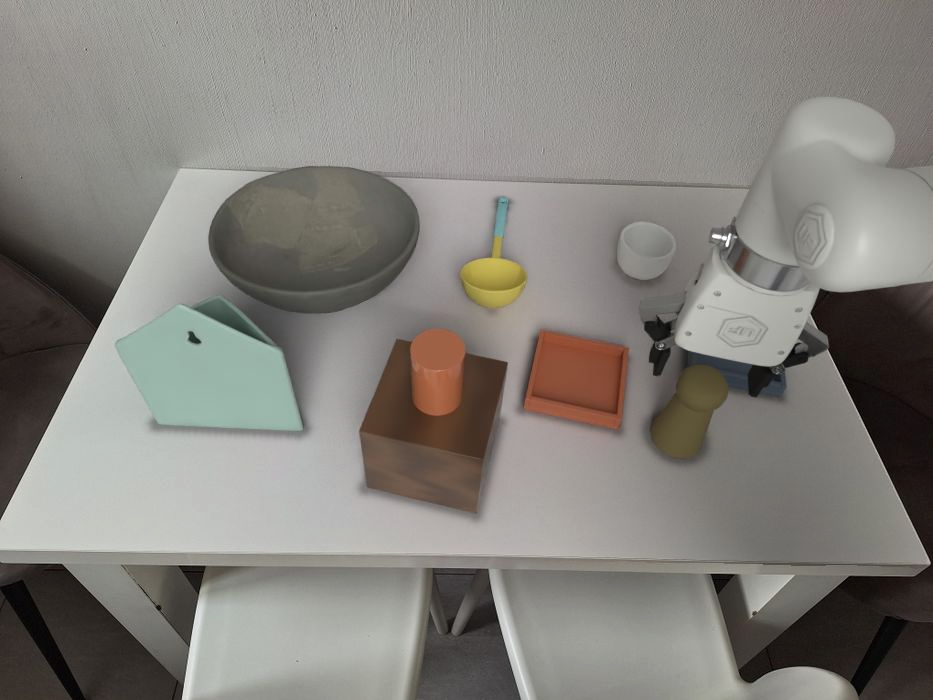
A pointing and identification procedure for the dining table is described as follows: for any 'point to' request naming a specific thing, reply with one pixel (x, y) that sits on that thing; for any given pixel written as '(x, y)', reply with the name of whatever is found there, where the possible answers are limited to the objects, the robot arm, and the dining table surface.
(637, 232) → the teacup
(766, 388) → the slate tray
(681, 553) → the dining table surface
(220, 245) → the bowl
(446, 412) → the terracotta jar
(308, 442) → the dining table surface
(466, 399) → the block
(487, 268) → the ladle
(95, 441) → the dining table surface
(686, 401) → the pepper shaker
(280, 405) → the planter
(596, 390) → the terracotta tray
